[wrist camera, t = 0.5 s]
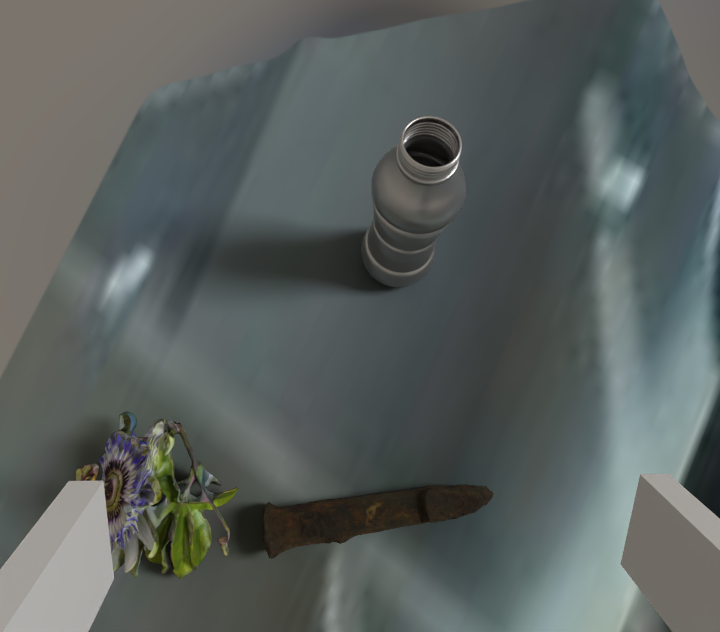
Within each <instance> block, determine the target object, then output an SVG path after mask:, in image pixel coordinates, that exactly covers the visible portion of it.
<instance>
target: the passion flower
mask: <svg viewBox="0 0 720 632" xmlns="http://www.w3.org/2000/svg"><path fill="white" fill-rule="evenodd" d="M119 419H120V429H119V431H116V432H114V433H112V434H111V435H110V439H109V440H108V442H107V443H106V447H105V454H104V455H103V456H102V457H101V458H100V459H99V466H100V467H101V468H102V472H103V474H102V479H101V480H100V481H103V482H104V491H105V500H106V509H107V518H108V527H109V537H110V546H111V555H112V564H113V572H114V571H115V570H116V569H117V568H119V567H121V566H122V565H123V563H124V569H125V571H124V572H125V573H127V572H131V571H132V575H133V577H138V576H139V574H138V567H139V564H140V558H141V554H142V550H143V549H144V550H145V554H146V557H147V558H148V560H149V561H151V562H153V563H161V564H162V565H163V568H162V571H161V573H162V574H165V573H166V572H167V571H168V570H169V569H170V568H171V560H172V565H173V567H174V570H173V572H174V574H175V575H176V576H177V577H178V578H183V577H184V576H185V575H187V574H188V573H190V572H191V571H193V570H195V569H196V568H197V567H198V565H199V564H200V562H201V561H202V559H203V558H204V556H205V554H206V553H207V551H208V550H209V548H210V546H211V541H212V531H211V528H210V525H209V523H208V520H207V518H206V515H205V513H204V511H205V510H213V509H214V511H215V514H216V515H217V516H218V517H219V518H220V520H221V522H222V524H223V526H224V528H225V530H226V531H227V533H228V538H226V537H220V538H218V542H219V543H220V545H221V548H222V551H223V554H224V555H225V556H227V555H228V554H229V548H228V546H227V542H228V540H229V533H230V530H229V528H228V527H227V524H226V522H225V520H224V519H223V517H222V515H221V514H220V512H219V511H218V509H217V507H219V506H222V505H223V504H225V503H227V502H228V501H229V500H230V499H231V498H232V497H233V496H234V495H235V493H236V492H237V490H238V488H237V487H236V488H234V489H232V490H229V491H226V492H221V493H212V492H209V491H208V490H207V489H206V487H207V486H208V485H209V484H210V482H212V481H213V482H216V483H217V484H219V485H221V482H220V481H218V480H217V478H215V477H214V476H213V475H211V474H210V473H209V472H208V471H207V470H205V468H204V466H203V465H202V463H201V462H199V461H198V460H197V459H196V457H195V454H194V452H193V450H192V449H191V446H190V444H189V442H188V439H187V437H186V432H185V430H184V429H183V427H182V425H181V424H180V423H176V422H174V421H167V420H165V419H159V420H156V421H154V422H153V424H152V425H151V426H150V427H149V431H148V432H147V433H146V434H145V435H143V436H141V437H138V438H137V437H136V436H135V432H132V431H133V430H134V428H135V427H136V424H137V419H136V416H135V415H134V414H133V413H131V412H124V413H122V414H120V415H119ZM166 422H167V424H166ZM167 425H168V426H169V427H168V426H167ZM175 434H180V435H181V437H182V439H183V442H184V444H185V447H186V449H187V451H188V453H189V456H190V458H191V460H192V466H191V470H190V474H189V476H188V477H187V478H186V479H184V480H182V481H179V482H176V480H175V476H174V463H173V454H172V452H171V449H172V447H173V445H174V441H175V439H174V435H175ZM169 444H170V445H169ZM99 466H98V465H97V464H96V463H95V464H86V465H85V466H84V468H83V469H81V468H79V469H78V470H77V472H76V481H95V480H96V477H97V475H98V472H99ZM194 480H197V482H198V484H199V486H200V488H201V490H202V494H201V495H200V496H199V497H195V496H193V495H191V494H190V487H191V485H192V483H193V481H194ZM178 484H184V485H185V486H186V488H185V491H184V492H183V493H182V494H180V488H179V486H178ZM162 492H163V494H164V495H165V499H164V501H163V502H162V503H160V504H158V505H156V506H153V507H152V506H151V505H154V504H156V503H158V502H159V501H160V500H161V498H162ZM169 541H171V544H170V546H171V551H170V553H171V556H170V558H171V560H170V558H169V553H168V542H169Z"/></svg>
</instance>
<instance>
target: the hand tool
mask: <svg viewBox="0 0 720 632" xmlns="http://www.w3.org/2000/svg"><path fill="white" fill-rule="evenodd" d="M492 497H493V493H492V491H490V490H489V489H488V488H487V487H485V486H475V485H456V486H426V487H423V488H417V489H410V490H402V491H392V492H385V493H377V494H370V495H363V496H358V497H351V498H339V499H327V500H322V501H318V502H310V503H308V504H300V505H295V506H287V507H276V506H274V505H273V504H271V503H270V502H268V503H267V504H266V505H265V507H264V511H263V541H264V544H265V547H266V551H267V553H268V556H269V558H271V559H272V558H274V557H276V556H277V555H278V554H280V553H281V552H284V551H285V550H288V549H290V548H293V547H295V546H303V545H308V544H319V543H331V542H337V543H340V544H341V543H344V542H346V541H347V540H349V539H350V538H352V537H354V536H357V535H362V534H367V533H374V532H380V531H384V530H389V529H393V528H398V527H403V526H410V525H416V524H423V523H426V522H438V521H445V520H449V519H456V518H459V517H461V516H464V515H468V514H471V513H474V512H476V511H477V510H478V509H480V508H481V507H482V506H484V505H486V504H487V503H488V502H489V501H490V500H491V498H492Z"/></svg>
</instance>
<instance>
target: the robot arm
mask: <svg viewBox="0 0 720 632" xmlns="http://www.w3.org/2000/svg"><path fill="white" fill-rule="evenodd" d="M621 565H622V566H623V568H624V569H625V570H626V572H627V573H628V574H629V576H630V577H631V578H632V580H633V581H634V582H635V584H636V585H637V586H638V587H639V589H640V590H641V591H642V593H643V594H644V595H645V597H646V598H647V599H648V601H649V602H650V603H651V604H652V606H653V607H654V608H655V610H656V611H657V612H658V614H659V615H660V616H661V618H662V619H663V620H664V621H665V623H666V624H667V625H668V627H669V628H670V629H671V631H672V632H720V519H719V518H718V517H717V516H716V515H715V514H713V513H712V512H711V511H710V510H709V509H708V508H707V507H706V506H704V505H703V504H702V503H701V502H700V501H699V500H698V499H696V498H695V497H694V496H693V495H692V494H691V493H690V492H688V491H687V490H686V489H685V488H684V487H683V486H682V485H680V484H679V483H678V482H677V481H676V480H675V479H674V478H672V477H671V476H670V475H669V474H640V478H639V483H638V487H637V492H636V496H635V501H634V506H633V510H632V515H631V519H630V524H629V528H628V533H627V537H626V542H625V547H624V551H623V556H622V560H621ZM113 580H114V573H113V564H112V555H111V546H110V537H109V527H108V518H107V509H106V500H105V491H104V482H103V481H68V483H67V484H66V485H65V487H64V488H63V489H62V490H61V492H60V493H59V494H58V496H57V497H56V498H55V499H54V501H53V502H52V503H51V505H50V506H49V507H48V508H47V510H46V511H45V512H44V514H43V515H42V516H41V518H40V519H39V520H38V521H37V523H36V524H35V525H34V527H33V528H32V529H31V530H30V532H29V533H28V534H27V536H26V537H25V538H24V539H23V541H22V542H21V543H20V545H19V546H18V547H17V549H16V550H15V551H14V552H13V554H12V555H11V556H10V558H9V559H8V560H7V561H6V563H5V564H4V565H3V567H2V568H1V569H0V632H88V631H89V629H90V627H91V625H92V623H93V621H94V619H95V617H96V615H97V613H98V611H99V608H100V606H101V604H102V602H103V600H104V598H105V596H106V594H107V592H108V590H109V588H110V586H111V584H112V582H113Z"/></svg>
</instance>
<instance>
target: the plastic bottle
mask: <svg viewBox="0 0 720 632" xmlns="http://www.w3.org/2000/svg"><path fill="white" fill-rule="evenodd" d="M461 150H462V141H461V137H460V135H459V133H458V131H457V130H456V128H455V127H454V126H453V125H452V124H451V123H449V122H448V121H446V120H444V119H442V118H439V117H435V116H422V117H418V118H416V119H414V120H412V121H410V122H409V123H408V124H407V125H406V126H405V128H404V129H403V131H402V134H401V137H400V141H399V143H398V145H397V146H396V147H394V148H392V149H391V150H390V151H388V152H387V153H386V154H385V155H384V156H383V158H382V159H381V160H380V161H379V163H378V164H377V166H376V168H375V170H374V172H373V176H372V200H373V207H374V216H373V221H372V223H371V225H370V227H369V228H368V230H367V231H366V233H365V236H364V238H363V240H362V245H361V254H362V259H363V262H364V265H365V267H366V269H367V271H368V272H369V274H370V275H371V276H372V277H373V278H374V279H375V280H377V281H378V282H380V283H382V284H384V285H387V286H391V287H405V286H409V285H412V284H413V283H415V282H417V281H418V280H420V279H421V278H422V277H423V276H425V275H426V274H427V272H428V271H429V269H430V267H431V265H432V263H433V257H434V251H435V247H434V246H435V243H436V240H437V238H438V236H439V235H440V233H441V232H442V231H443V230H444V229H445V228H446V227H447V226H448V225H449V224H450V223H451V222H452V221H453V220H454V218H455V217H456V216H457V214H458V213H459V211H460V210H461V209H462V206H463V204H464V201H465V195H466V187H465V177H464V173H463V170H462V168H461V166H460V164H459V157H460V154H461Z"/></svg>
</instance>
